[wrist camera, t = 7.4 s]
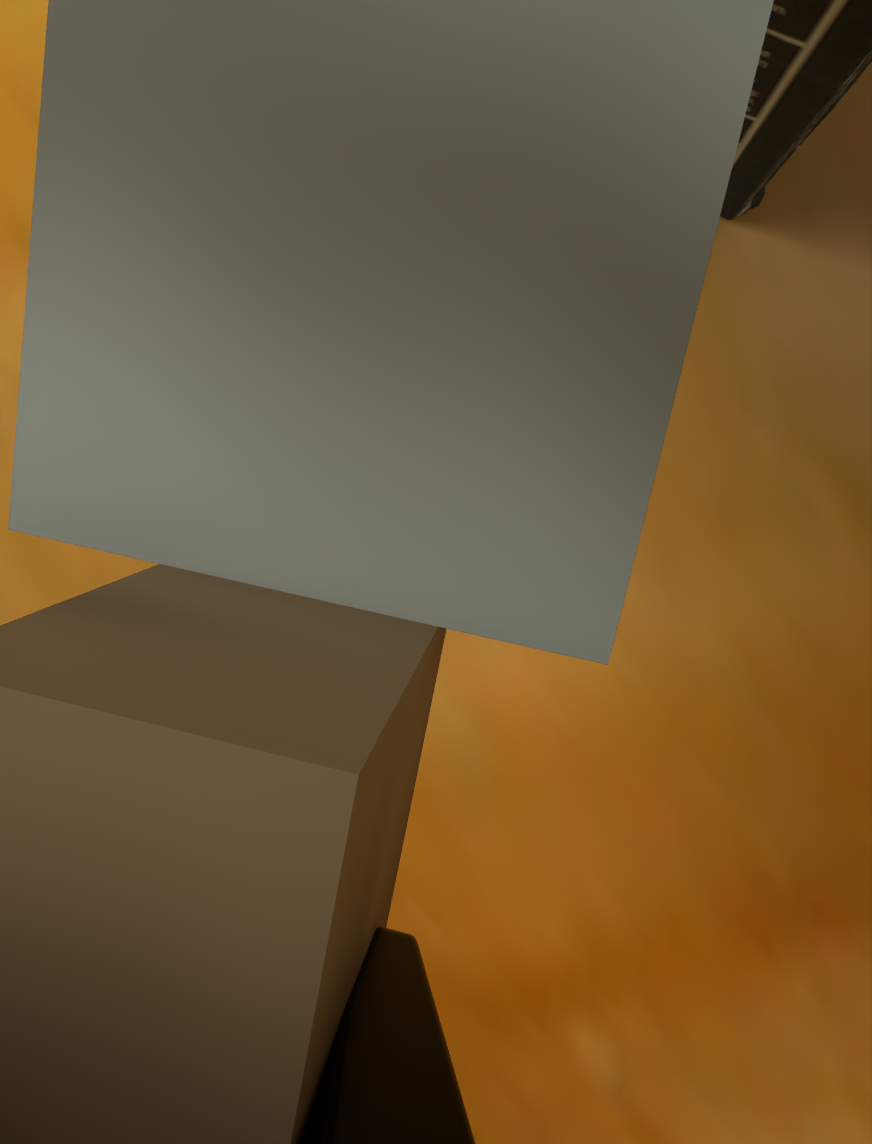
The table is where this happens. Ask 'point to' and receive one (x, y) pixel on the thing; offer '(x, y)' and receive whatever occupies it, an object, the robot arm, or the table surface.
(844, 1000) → the table surface
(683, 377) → the table surface
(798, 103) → the small box
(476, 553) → the turner
